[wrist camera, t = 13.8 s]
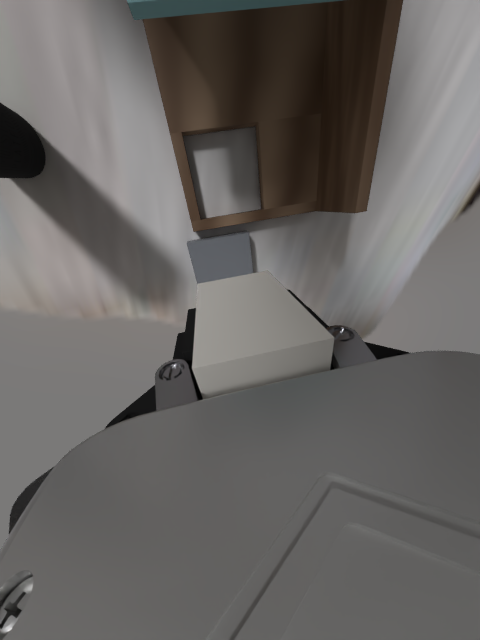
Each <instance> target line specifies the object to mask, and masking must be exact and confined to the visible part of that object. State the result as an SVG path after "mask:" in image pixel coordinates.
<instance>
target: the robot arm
mask: <svg viewBox="0 0 480 640" xmlns="http://www.w3.org/2000/svg"><path fill="white" fill-rule="evenodd" d="M287 291H288V292H289V293H290V294H291V295H292V296H293V297H294V298H295V299H296V300H297V301H298V302H299V303H300V304H301V305H302V306H303V307H304V308H305V309H306V310H307V311H308V312H309V313H310V314H311V315H312V316H313V317H314V318H315V319H316V320H317V321H318V322H319V323H320V324H321V325H322V326H323V327H324V328H325V329H326V330H327V331H328V332H329V333H330V334H331V335H332V336H333V337H334V345H333V352H332V360H331V367H330V370H329V371H325V372H320V373H316V374H311V375H307V376H303V377H298V378H294V379H289V380H285V381H281V382H276V383H272V384H268V385H263V386H259V387H255V388H250V389H246V390H242V391H237V392H233V393H229V394H225V395H220V396H216V397H212V398H207V399H203V397H202V395H201V392H200V389H199V387H198V384H197V381H196V378H195V376H194V373H193V370H192V361H193V346H194V332H195V317H196V308H194V309H189V310H188V315H187V322H186V329H185V332H183V333H179V334H178V336H177V341H176V346H175V351H174V357H173V360H171V361H168V362H166V363H164V364H163V365H162V366H161V367H160V368H159V369H158V370H157V372H156V373H155V385H154V386H153V387H152V388H151V389H149V390H148V391H147V392H146V393H144V394H143V395H142V396H141V397H140V398H138V399H137V400H136V401H135V402H134V403H132V404H131V405H130V406H129V407H127V408H126V409H125V410H124V411H122V412H121V413H120V414H119V415H118V416H116V417H115V418H114V419H113V420H112V421H111V422H110V423H109V424H108V425H107V426H106V428H105V429H104V430H102V431H100V432H98V433H96V434H95V435H93V436H91V437H89V438H88V439H86V440H85V441H83V442H81V443H80V444H79V445H77V446H76V447H75V448H73V449H72V450H71V451H69V452H68V453H67V454H66V455H65V456H64V457H63V458H62V459H61V460H60V461H59V462H58V463H57V464H56V466H54V467H53V468H52V469H50V470H49V471H47V472H46V473H44V474H43V475H41V476H40V477H39V478H37V479H36V480H35V481H34V482H32V483H31V484H30V485H29V486H27V487H26V488H25V490H24V491H23V492H22V493H21V494H20V495H19V496H18V498H17V500H16V501H15V503H14V505H13V506H12V510H11V514H10V523H9V536H8V538H7V539H6V541H5V543H4V544H3V546H2V548H1V549H0V640H480V354H474V353H468V352H458V351H424V352H416V353H409V352H405V351H401V350H397V349H392V348H387V347H384V346H380V345H375V344H371V343H367V342H364V341H363V340H362V339H361V337H360V336H359V335H358V333H357V332H356V331H355V330H353V329H351V328H349V327H346V326H341V325H335V326H330V327H329V326H327V325H326V324H325V323H324V322H323V321H322V320H321V319H320V318H319V317H318V316H317V315H316V314H315V313H314V312H313V311H312V310H311V309H310V308H308V307H307V306H306V305H305V304H304V303H303V302H302V301H301V300H300V299H299V298H298V297H297V296H295V295H294V294H293V293H292V292H291V291H290V290H287Z"/></svg>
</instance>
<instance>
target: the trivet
mask: <svg viewBox="0 0 480 640" xmlns="http://www.w3.org/2000/svg"><path fill="white" fill-rule="evenodd" d="M187 246H188V250H189V254H190V258H191V261H192V265H193V269H194V273H195V276H196V280H197V284H199V283H205V282H210V281H215V280H220V279H226V278H231V277H236V276H242V275H247V274H252V273H253V267H252V258H251V248H250V239H249V232H247V231H244V232H238V233H233V234H227V235H221V236H215V237H209V238H204V239H198V240H192V241H188V242H187Z"/></svg>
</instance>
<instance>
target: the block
mask: <svg viewBox="0 0 480 640" xmlns="http://www.w3.org/2000/svg"><path fill="white" fill-rule="evenodd" d="M333 345H334V337H333V336H332V335H331V334H330V333H329V332H328V331H327V330H326V329H325V328H324V327H323V326H322V325H321V324H320V323H319V322H318V321H317V320H316V319H315V318H314V317H313V316H312V315H311V314H310V313H309V312H308V311H307V310H306V309H305V308H304V307H303V306H302V305H301V304H300V303H299V302H298V301H297V300H296V299H295V298H294V297H293V296H292V295H291V294H290V293H289V292H288V291H287V290H286V289H285V288H284V287H283V286H282V285H281V284H280V282H279V281H278V280H277V279H276V278H275V277H274V276H273V275H272V274H271V273H270V272H269V271H263V272H257V273H252V274H247V275H242V276H236V277H231V278H226V279H220V280H215V281H210V282H205V283H199V284H198V287H197V302H196V317H195V332H194V346H193V361H192V370H193V373H194V376H195V378H196V381H197V384H198V387H199V389H200V392H201V395H202V397H203V399H207V398H212V397H216V396H220V395H225V394H229V393H233V392H237V391H242V390H246V389H250V388H255V387H259V386H263V385H268V384H272V383H276V382H281V381H285V380H289V379H294V378H298V377H303V376H307V375H311V374H316V373H320V372H325V371H329V370H330V367H331V360H332V352H333Z"/></svg>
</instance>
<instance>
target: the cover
mask: <svg viewBox="0 0 480 640" xmlns="http://www.w3.org/2000/svg"><path fill="white" fill-rule="evenodd" d="M333 1H344V0H127V2H128V5H129V8H130V11H131V13H132V16H133V19H134V20H140V19H150V18H161V17H172V16H183V15H193V14H204V13H215V12H225V11H236V10H247V9H258V8H268V7H279V6H290V5H301V4H311V3H322V2H333Z"/></svg>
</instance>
